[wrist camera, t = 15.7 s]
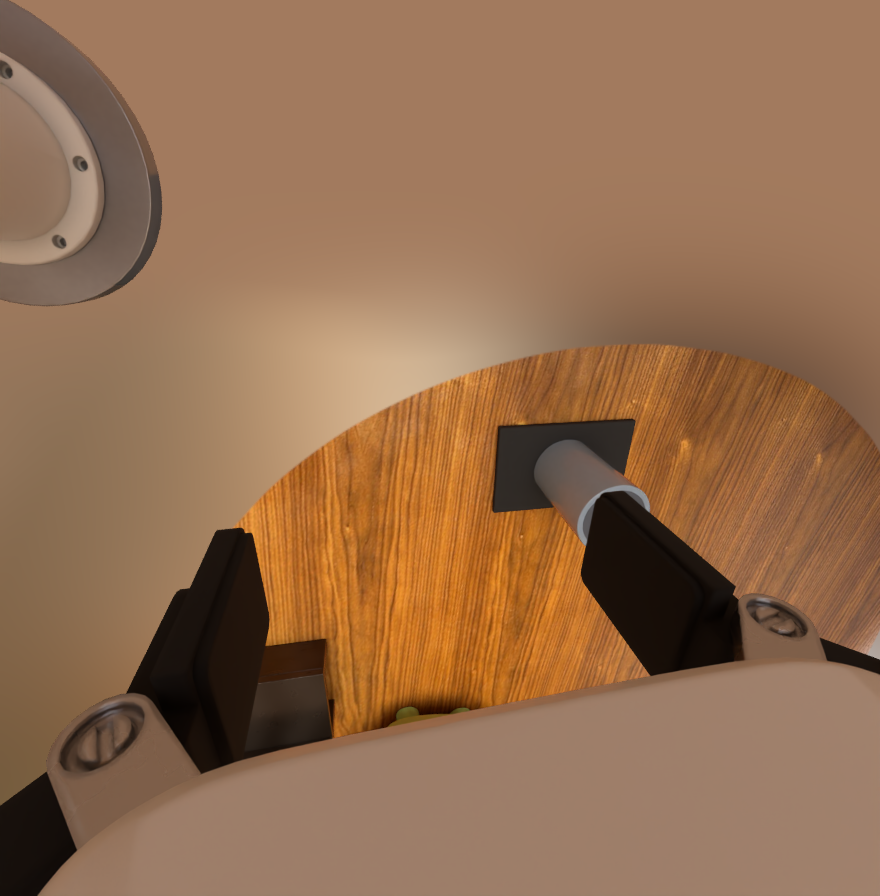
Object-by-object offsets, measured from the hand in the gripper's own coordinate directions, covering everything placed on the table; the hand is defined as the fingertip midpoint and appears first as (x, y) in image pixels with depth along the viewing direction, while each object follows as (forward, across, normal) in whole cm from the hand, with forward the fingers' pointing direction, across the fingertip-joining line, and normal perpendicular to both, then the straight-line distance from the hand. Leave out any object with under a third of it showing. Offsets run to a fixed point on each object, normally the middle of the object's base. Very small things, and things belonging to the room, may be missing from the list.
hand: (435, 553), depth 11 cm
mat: (+28, -20, +14) cm, 37 cm away
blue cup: (+28, -20, +14) cm, 37 cm away
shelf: (+29, +13, +41) cm, 52 cm away
